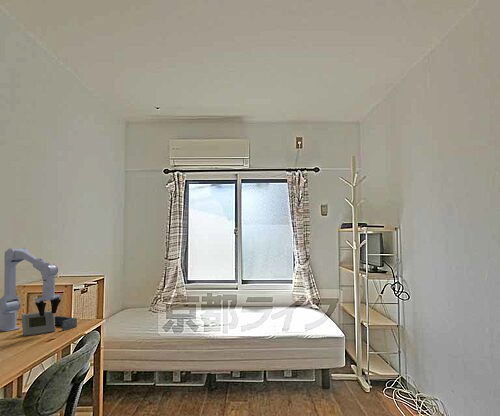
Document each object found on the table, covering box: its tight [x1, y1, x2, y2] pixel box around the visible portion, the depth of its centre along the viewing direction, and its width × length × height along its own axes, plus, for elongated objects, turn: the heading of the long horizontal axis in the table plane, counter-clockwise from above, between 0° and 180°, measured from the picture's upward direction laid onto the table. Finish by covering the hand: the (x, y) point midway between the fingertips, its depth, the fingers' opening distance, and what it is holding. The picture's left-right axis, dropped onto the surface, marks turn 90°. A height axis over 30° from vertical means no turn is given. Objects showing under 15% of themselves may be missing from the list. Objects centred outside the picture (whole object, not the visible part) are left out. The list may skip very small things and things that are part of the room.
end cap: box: [54, 315, 78, 331], centre depth 236 cm, size 14×9×5 cm, turn 68°
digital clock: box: [21, 310, 56, 337], centre depth 223 cm, size 16×9×11 cm, turn 123°
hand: (47, 314), depth 221 cm, fingers open, 7 cm apart
